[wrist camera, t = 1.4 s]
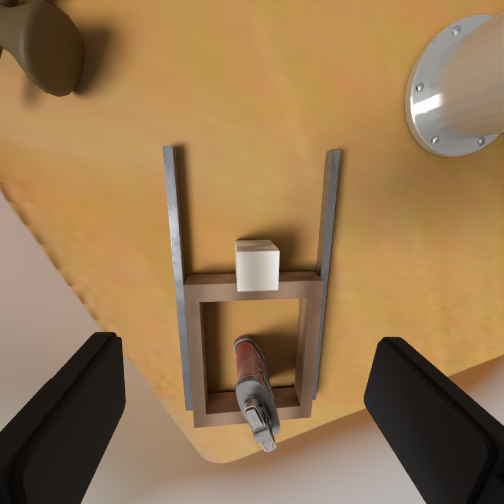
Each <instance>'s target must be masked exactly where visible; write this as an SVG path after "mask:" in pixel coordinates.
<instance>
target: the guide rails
mask: <svg viewBox="0 0 504 504" xmlns="http://www.w3.org/2000/svg"><path fill="white" fill-rule="evenodd" d="M340 153H341V150H331V151H328V152H326V162H325V173H324V185H323V197H322V209H321V220H320V232H319V244H318V256H317V267H316V274H317V275H319V276H320V277H321V278H322V279H323V280H324V283H323V294H322V304H321V315H320V325H319V335H318V346H317V356H316V367H315V377H314V388H313V398H312V400H316V393H317V383H318V373H319V363H320V353H321V343H322V333H323V323H324V313H325V303H326V293H327V283H328V273H329V263H330V253H331V243H332V233H333V223H334V213H335V203H336V193H337V183H338V173H339V163H340ZM163 156H164V168H165V179H166V190H167V202H168V213H169V224H170V236H171V247H172V258H173V270H174V281H175V292H176V304H177V315H178V327H179V338H180V349H181V361H182V372H183V383H184V395H185V406H186V411H187V410H193V402H192V390H191V377H190V364H189V351H188V338H187V325H186V312H185V299H184V287H183V285H184V283H185V281H186V279H185V266H184V252H183V239H182V226H181V212H180V199H179V185H178V172H177V158H176V148H174V147H173V146H163Z"/></svg>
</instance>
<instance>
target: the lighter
mask: <svg viewBox="0 0 504 504" xmlns="http://www.w3.org/2000/svg"><path fill="white" fill-rule="evenodd" d="M234 350H235V354H236V362H237V383H236V395H237V399H238V403H239V407H240V409H241V411H242V414H243V416H244V418H245V419H246V421H247V422H248V424H249V426H250V427H251V428H252V432H253V435H254V439H255V441H256V443H257V444H258V443H261V445H262V447H263V449H264V450H265V451H266V452H269V451H272V450H274V449H275V448H276V445H275V440H274V435H276V434H277V433H278V432H279V430H280V423H279V418H278V413H277V409H276V406H275V403H274V395H273V391H272V387H271V385H270V382H269V379H270V378H269V372H268V368H267V363H266V361H265V358H264V355H263V353H262V351H261V349H260V348H259V346H258V344H257V343H256V342H255V340H254V339H253V338H252V337H251V336H249V335H242V336H240V337H238V338H237V339H236V340H235V342H234Z"/></svg>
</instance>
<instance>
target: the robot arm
mask: <svg viewBox="0 0 504 504" xmlns="http://www.w3.org/2000/svg"><path fill="white" fill-rule="evenodd" d="M405 112H406V120H407V123H408V126H409V129H410V131H411V133H412V135H413V137H414V139H415V140H416V141H417V142H418V144H419V145H420V146H421V147H422V148H424V149H425V150H426V151H428V152H429V153H432V154H434V155H437V156H442V157H456V156H463V155H468V154H471V153H474V152H476V151H479V150H480V149H482V148H484V147H485V146H487V145H488V144H490V143H491V142H492V141H493V140H494V139H496V138H497V137H498V136H499V135H500V134H501V133H504V11H502V12H501V13H499V14H498V15H496V16H492V15H487V14H477V15H471V16H468V17H464V18H461V19H460V20H458V21H456V22H454V23H452V24H450V25H449V26H448V27H446V28H445V29H444V30H442V31H441V32H440V33H438V34H437V35H436V36H435V37H434V38H433V39H432V40H431V41H430V42H429V43H428V44H427V45H426V47H425V48H424V49H423V51H422V52H421V53H420V55H419V56H418V58H417V60H416V62H415V64H414V66H413V68H412V71H411V73H410V76H409V79H408V83H407V88H406V93H405ZM125 403H126V398H125V382H124V367H123V351H122V339H121V337H117V335H116V333H114V332H95V333H94V334H93V335H92V336H91V337H90V338H89V339H88V340H87V341H86V342H85V343H84V344H83V345H82V346H81V347H80V349H79V350H78V351H77V352H76V353H75V354H74V355H73V356H72V357H71V358H70V359H69V360H68V362H67V363H66V364H65V365H64V366H63V367H62V368H61V369H60V370H59V371H58V372H57V374H56V375H55V376H54V377H53V378H51V379H50V380H49V381H48V382H46V383H45V385H44V386H43V387H42V388H41V389H40V390H39V391H38V392H37V393H36V394H35V395H34V396H33V398H31V400H30V401H29V402H28V403H27V404H26V405H25V406H24V407H23V408H22V409H21V410H20V411H19V412H18V413H17V414H16V416H15V417H14V418H13V419H12V420H11V421H10V422H9V423H8V424H7V425H6V426H5V427H4V428H3V430H2V431H1V432H0V504H81V502H82V499H83V497H84V495H85V493H86V491H87V489H88V486H89V484H90V482H91V480H92V478H93V476H94V474H95V472H96V469H97V467H98V465H99V463H100V461H101V459H102V457H103V454H104V452H105V450H106V448H107V446H108V444H109V442H110V439H111V437H112V435H113V433H114V431H115V429H116V427H117V424H118V422H119V420H120V418H121V416H122V414H123V411H124V408H125ZM364 403H365V406H366V408H367V410H368V411H369V413H370V415H371V416H372V417H373V419H374V421H375V422H376V424H377V426H378V427H379V429H380V430H381V432H382V434H383V435H384V437H385V438H386V440H387V441H388V443H389V445H390V446H391V448H392V449H393V451H394V453H395V454H396V456H397V458H398V459H399V461H400V462H401V464H402V466H403V467H404V469H405V470H406V472H407V473H408V475H409V477H410V478H411V480H412V481H413V483H414V485H415V486H416V488H417V489H418V491H419V493H420V494H421V496H422V497H423V499H424V501H425V502H426V504H504V426H503V425H502V424H501V423H500V422H499V421H497V420H496V419H495V418H494V417H493V416H491V415H490V414H489V413H488V412H487V411H486V410H485V409H483V408H482V407H481V406H480V405H479V404H478V403H477V402H475V401H474V400H473V399H472V398H471V397H470V396H468V395H467V394H466V393H465V392H464V391H463V390H461V389H460V388H459V387H458V386H457V385H456V384H454V383H453V382H452V381H451V380H450V379H449V378H448V377H446V376H445V375H444V374H443V373H442V372H441V371H440V370H438V369H437V368H436V367H435V366H434V365H433V364H431V363H430V362H429V361H428V360H427V359H426V358H424V357H423V356H422V355H421V354H420V353H419V352H418V351H416V350H415V349H414V348H413V347H412V346H411V345H409V344H408V343H407V342H406V341H405V340H404V339H402V338H400V337H383V338H382V340H381V341H379V342H378V345H377V349H376V353H375V356H374V360H373V364H372V368H371V371H370V375H369V379H368V383H367V387H366V390H365V394H364Z"/></svg>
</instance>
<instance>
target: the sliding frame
mask: <svg viewBox="0 0 504 504" xmlns="http://www.w3.org/2000/svg"><path fill="white" fill-rule="evenodd" d="M235 243H236V273H231V274H197V275H188V276H187V278H186V281H185V283H184V285H183V287H184V299H185V312H186V325H187V338H188V351H189V364H190V377H191V390H192V402H193V415H194V428H199V427H210V426H221V425H232V424H243V423H248V422H247V421H246V419H245V418H244V416H243V414H242V411H241V409H240V407H239V403H238V399H237V395H236V392H224V393H211V394H208V386H207V368H206V350H205V331H204V313H203V302H216V301H241V300H266V299H290V298H300V308H299V323H298V338H297V352H296V367H295V382H294V387H288V388H275V389H272V391H273V395H274V403H275V406H276V409H277V413H278V418H279V420H286V419H297V418H307V417H311V409H312V398H313V388H314V377H315V367H316V356H317V346H318V335H319V325H320V315H321V304H322V294H323V283H324V280H323V279H322V278H321V277H320V276H319V275H317V274H316V273H315V272H314V271H301V272H279V254H280V251H279V250H278V248H277V247H276V246H275V245H274V244H273V242H272V241H271V240H235Z"/></svg>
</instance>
